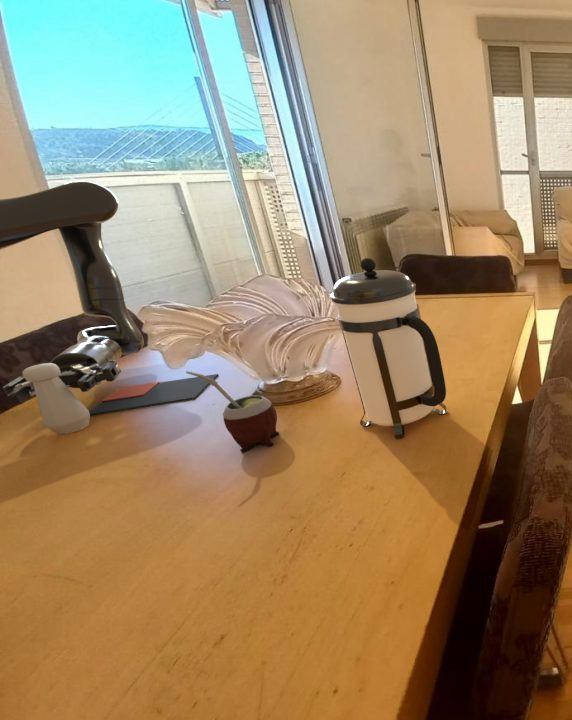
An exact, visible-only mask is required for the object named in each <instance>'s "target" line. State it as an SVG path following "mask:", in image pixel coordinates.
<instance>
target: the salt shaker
mask: <svg viewBox="0 0 572 720" xmlns="http://www.w3.org/2000/svg"><path fill="white" fill-rule="evenodd" d="M60 374H61V372H60V369H59V367H58V366H57V365H56V364H53V363H50V362H45V363H44V362H43V363H38V364H35V365H31V366H29V367H26V368H25V369H23V370H22V376H23V377H24V378H25V380H26V381H28V382H33V385H34V389H35V393H36V395H35V396H36V401H37V403H38V404H37V405H38V408H39V411H40V415H41V419H42V422H43V426H44V427H45V428H47V429H48V430H50V431H52V433H54V434H56V435H68V434H72V433H77V432H79V431H82V430H84V429H85V428H87V427H89V426H90V418H91V416H90V414H89V411H90V410H88V408H87V407H86V406H85V405H84V404H83V403H82V402H81V401H80V400H79V398H78V397H77V396H76V395H75V394H74V393H73V392H72V391H71V390H70V388H69V387H67V386H66V385H65V384H64V383H63V382H62V380H61V379H60V378H59V377H58V375H60ZM34 389H33V390H34Z"/></svg>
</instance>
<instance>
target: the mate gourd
mask: <svg viewBox="0 0 572 720" xmlns="http://www.w3.org/2000/svg"><path fill="white" fill-rule="evenodd" d="M185 373H186V374H188V375H191V376H194V377H200V378H203V379H205V380H207V381H209V383H210V385H211V386H212V387H214V388H216V390H217V391H218V392H219V393H220V394H221V395H223V396H224V397H225V399H226V400H228V401H229V403H227V405H226V406H225V408H224V410H223V412H222V417H223V423H224V426H225V428H226V430H227V431H228V433H229V434H230V435H231V437H232V439H233V440H234V442H236V444H237V445H238V446H239V447H240V449H239V451H240V452H241V453H242V454H243V453H246V452H248V451H250V450H253V449H254V448H256V447H258V446H263V447H267V448H272V447H274V446H275V443H274V442H273V441H272V440H271V439H273V438H275V437H278V436H279V435H280V431H278V430H277V423H278V414H277V410H276V409H275V407H274V405H273V404H272V402H271V401H270V400H269V399H268V398H267V397H265V396H262V395H258V394H257V395H256V394H255V395H249V396H248V395H247V396H243V397H240V398H237V399H234V398H232V397H231V396H230V395H229V393H227V392H226V391H225V390H224V389H223V388H222V387H221V386H220V385H219V384H218V382H217V381H216V379H215V380H214V379H211V378H209V377H207V375H204V374H201V373H197V372H193V371H189V370H186V371H185Z"/></svg>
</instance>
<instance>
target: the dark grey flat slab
mask: <svg viewBox="0 0 572 720" xmlns="http://www.w3.org/2000/svg"><path fill="white" fill-rule="evenodd" d="M218 375H219V373H215V374H208V375H206V376H207V377H209V378H211V379H215V378H216V377H217V376H218ZM218 377H219V376H218ZM218 377H217V378H218ZM217 378H216V379H217ZM216 379H215V380H216ZM209 384H210V383H209V381H207V380H205V379H203V378H200V377H197V376H194V377H187V378H181V379H173V380H168V381H161V382H160V381H154V382H147V383H140V384H135V385H133V384H132V385H128V386H121V387H119V388H117V389H116V390H115V391H112V392H111V393H110V394H108V395H107V396H106V397H105V398H103V399H102V400H101V402H100V403H98V404H97V405H95V406H94V407H92V409H90V410H88V411H89V414H90V417H92V416H97V415H104V414H109V413H115V412H121V411H122V412H123V411H128V410H134V409H140V408H141V409H142V408H147V407H155V406H160V405H166V404H167V405H168V404H172V403H179V402H185V401H191V400H196V399H197V398H198V397H199V396H200V395H201V394H202V393H203V392H204V391H205V390H206V389H207V388H208V387H209V386H210V385H211V384H210V385H209ZM208 385H209V386H208ZM207 386H208V387H207ZM205 388H206V389H205Z"/></svg>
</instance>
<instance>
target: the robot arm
mask: <svg viewBox="0 0 572 720" xmlns="http://www.w3.org/2000/svg"><path fill="white" fill-rule="evenodd" d="M118 209H119V201H118V199H117V196H116V195H115V194H114V193H113V192H112V191H111V190H110V189H108V188H107V187H105V186H103V185H101V184H98V183H95V182H92V181H88V180H87V181H85V180H74V181H73V180H72V181H69V182H65V183H63V184H60V185H57V186H55V187H52V188H48V189H45V190H41V191H38V192H34V193H30V194H26V195H22V196H16V197H9V198H2V199H0V251H1V250H4V249H6V248H9V247H13V246H14V245H18V244H19V243H22V242H25V241H27V240H30V239H32V238H34V237H37V236H39V235H43V234H45V233H47V232H50V231H51V232H52V231H55V230H58V231H59V233H60V235H61V238H62V240H63V243H64V246H65V248H66V251H67V254H68V257H69V260H70V264H71V266H72V267H71V268H72V270H73V274H74V279H75V283H76V288H77V293H78V298H79V303H80V307H81V310H82V312H83V314H84V315H86V316H89V317H97V318H107V319H108V318H109V319H111V320H112V321H113V322H114V323H115V325H107V326H105V325H104V326H94V327H88V328H84V329H81V330H80V331H79V332H78V334H77V337H76V339H77V340H76V341H77V343H76V344H73V345H71V346H70V347H68V348H67V349H65V350H63V351H62V352H61V353H59V354H58V355H57V356H55V357H54V358H53V359H51V361H50V362H49V363H53V364H56V365H57V366H58V367H59V369H60V372H61V374H60V375H58V377H59V378H60V379H61V380H62V382H63V383H64V384H65V385H66V386H67V387H68V388H71V389H80V391H81V392H82V393H85V392H90V390H91V389H93V388H94V387H95V386H99V385H100V384H101V385H102V383H103V381H106V382H107V383H108V382H113V381H116V379H118V377H119V375H120V374H121V373H122V370H121V368H120V365H119V364H118V361H119V360H120V359H121V357H122V356H125V355H126V356H127V355H134V354H138V353H139V352H140V351H141V350H142V349H143V347H144V344H145V341H144V336H143V335H142V333H141V331H140V330H139V328H138V326H137V325H136V323H135V322H134V320H133V319H132V317H131V315H130V313H129V311H128V308H127V305H126V302H125V297H124V293H123V288H122V284H121V281H120V277H119V274H118V272H117V270H116V269H115V267H114V265H113V264H112V262H111V260H110V258H109V257H108V255H107V253H106V250H105V246H104V243H103V239H102V238H103V237H102V224H103V223H105V222H108V221H109V220H111V219H112V218H114V216H115V215H116V214H117V212H118ZM2 389H3V390H4V392H5V394H6V396H7V397H8V399H9V400H10V402H11V403H12V404H14V405H22V404H24V403H25V402H26V401H27V400H29V399H30V398H32V397H33V396H36V393H35V389H34V385H33V382H28V381H26V380H25V378H24V377H23V375H20V376H18V377H17V378H15V379H13V380H12V381H10V382H9V383H7V384H6V385H4V386H2ZM31 390H32V391H31Z"/></svg>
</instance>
